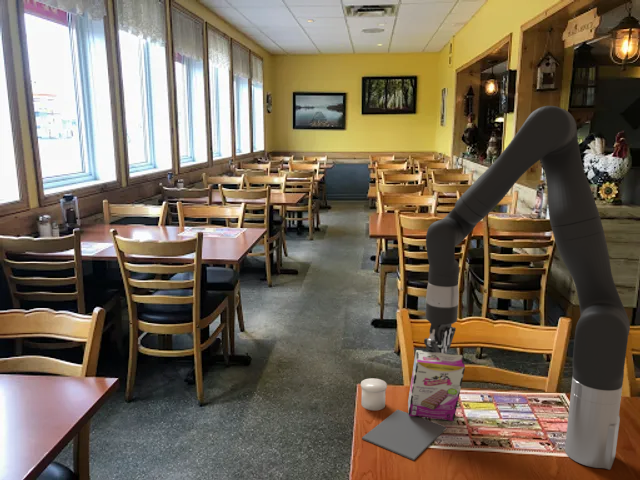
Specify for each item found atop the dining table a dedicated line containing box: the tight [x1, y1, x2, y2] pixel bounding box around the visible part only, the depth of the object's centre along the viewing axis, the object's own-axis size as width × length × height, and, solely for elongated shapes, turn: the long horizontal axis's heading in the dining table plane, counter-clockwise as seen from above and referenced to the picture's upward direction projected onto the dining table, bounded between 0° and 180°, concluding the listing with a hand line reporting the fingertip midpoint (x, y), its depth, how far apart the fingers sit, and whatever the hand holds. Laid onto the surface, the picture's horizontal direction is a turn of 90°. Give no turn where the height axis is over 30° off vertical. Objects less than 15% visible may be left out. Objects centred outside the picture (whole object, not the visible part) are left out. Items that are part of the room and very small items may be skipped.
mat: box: [361, 409, 447, 461], centre depth 119 cm, size 13×16×1 cm
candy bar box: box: [407, 349, 466, 422], centre depth 124 cm, size 11×5×16 cm, turn 84°
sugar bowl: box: [360, 377, 388, 411], centre depth 132 cm, size 7×7×6 cm
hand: (438, 368), depth 128 cm, fingers closed
